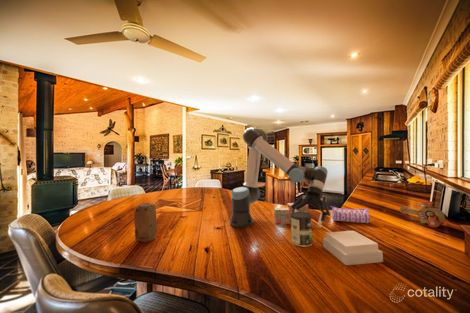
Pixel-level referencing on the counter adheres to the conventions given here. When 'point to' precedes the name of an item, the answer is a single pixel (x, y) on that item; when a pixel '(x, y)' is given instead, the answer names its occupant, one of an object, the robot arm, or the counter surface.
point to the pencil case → (350, 215)
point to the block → (145, 222)
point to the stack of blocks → (287, 213)
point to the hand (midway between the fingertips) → (305, 223)
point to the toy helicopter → (426, 214)
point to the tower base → (353, 256)
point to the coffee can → (301, 229)
